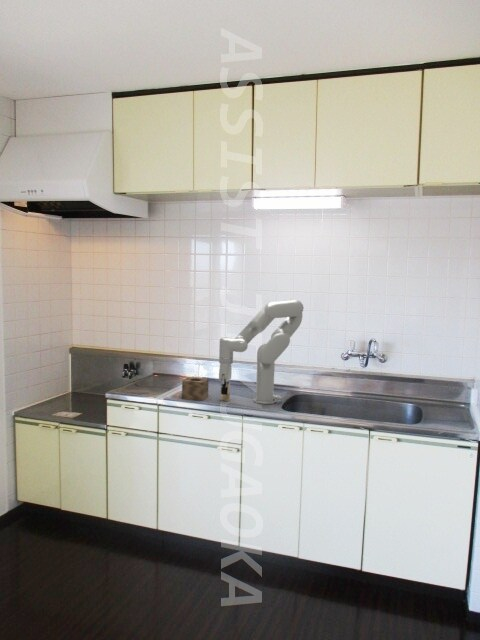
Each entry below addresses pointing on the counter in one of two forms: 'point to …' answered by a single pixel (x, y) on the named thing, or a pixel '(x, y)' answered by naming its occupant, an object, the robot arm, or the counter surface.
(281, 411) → the counter surface
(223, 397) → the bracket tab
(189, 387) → the brown block
